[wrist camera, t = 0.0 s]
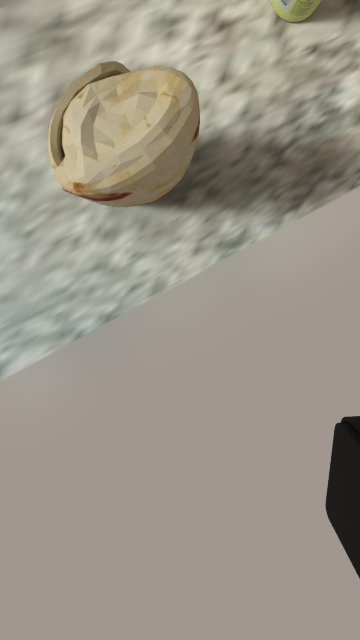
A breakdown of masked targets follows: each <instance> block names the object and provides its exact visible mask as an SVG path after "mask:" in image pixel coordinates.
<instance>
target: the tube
mask: <svg viewBox="0 0 360 640" xmlns="http://www.w3.org/2000/svg"><path fill="white" fill-rule="evenodd" d="M321 1H322V0H271V4H272V6H273V8H274V10H275V12H276V13H277V14H278V15H279V16H280V17H281V18H282V19H284V20H286V21H289V22H298V21H302V20H304V19H306V18H307V17H309V16H310V15H311V14H312V13H313V12H314V10H315V9H316V8H317V6H318V5H319V4H320V2H321Z"/></svg>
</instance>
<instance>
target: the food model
mask: <svg viewBox="0 0 360 640" xmlns="http://www.w3.org/2000/svg"><path fill="white" fill-rule="evenodd" d="M199 123H200V109H199V100H198V93H197V90H196V88H195V86H194V84H193V82H192V81H191V80H190V79H189V78H188V77H187V76H186V75H185V74H184V73H183V72H180V71H178V70H176V69H174V68H170V67H159V66H154V67H150V68H146V69H141V70H137V71H133V72H130V71H129V70H128V69H127V68H126V67H125V66H124V65H123V64H121V63H118V62H116V61H108V62H103V63H99V64H97V65H95V66H94V67H92V68H91V69H90V70H88V71H87V72H86V73H84V74H83V75H82V76H80V77H79V78H78V79H76V80H75V81H73V82H72V83H71V84H70V86H69V88H68V89H67V91H66V92H65V94H64V95H63V97H62V98H61V100H60V101H59V103H58V105H57V107H56V109H55V112H54V115H53V117H52V120H51V122H50V126H49V134H48V152H49V157H50V162H51V165H52V167H53V171H54V174H55V177H56V179H57V181H58V182H59V184H60V185H61V187H62V188H63V190H64V191H66V192H69V193H71V194H74V195H76V196H79V197H83V198H85V199H86V200H89V201H92V202H95V203H99V204H102V205H107V206H113V207H131V206H136V205H141V204H145V203H149V202H152V201H155V200H157V199H159V198H160V197H162V196H163V195H165V194H166V193H168V192H169V191H170V190H171V189H172V188H173V187H174V186H175V185H176V184H177V183H178V182H179V181H180V180H182V178H183V176H184V174H185V172H186V170H187V168H188V166H189V164H190V162H191V159H192V157H193V154H194V151H195V148H196V144H197V140H198V135H199Z"/></svg>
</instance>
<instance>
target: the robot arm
mask: <svg viewBox="0 0 360 640" xmlns="http://www.w3.org/2000/svg"><path fill="white" fill-rule="evenodd" d="M326 511H327V515H328V518H329V520H330V522H331V524H332V526H333V528H334V530H335V532H336V534H337V535H338V538H339V539H340V541H341V543H342V545H343V547H344V549H345V551H346V553H347V555H348V557H349V559H350V561H351V562H352V565H353V567H354V568H355V570H356V572H357V574H358V576H359V578H360V416H353V417H344V418H342V420H341V423H337V424H336V426H335V430H334V438H333V447H332V455H331V463H330V471H329V480H328V488H327V496H326Z"/></svg>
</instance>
